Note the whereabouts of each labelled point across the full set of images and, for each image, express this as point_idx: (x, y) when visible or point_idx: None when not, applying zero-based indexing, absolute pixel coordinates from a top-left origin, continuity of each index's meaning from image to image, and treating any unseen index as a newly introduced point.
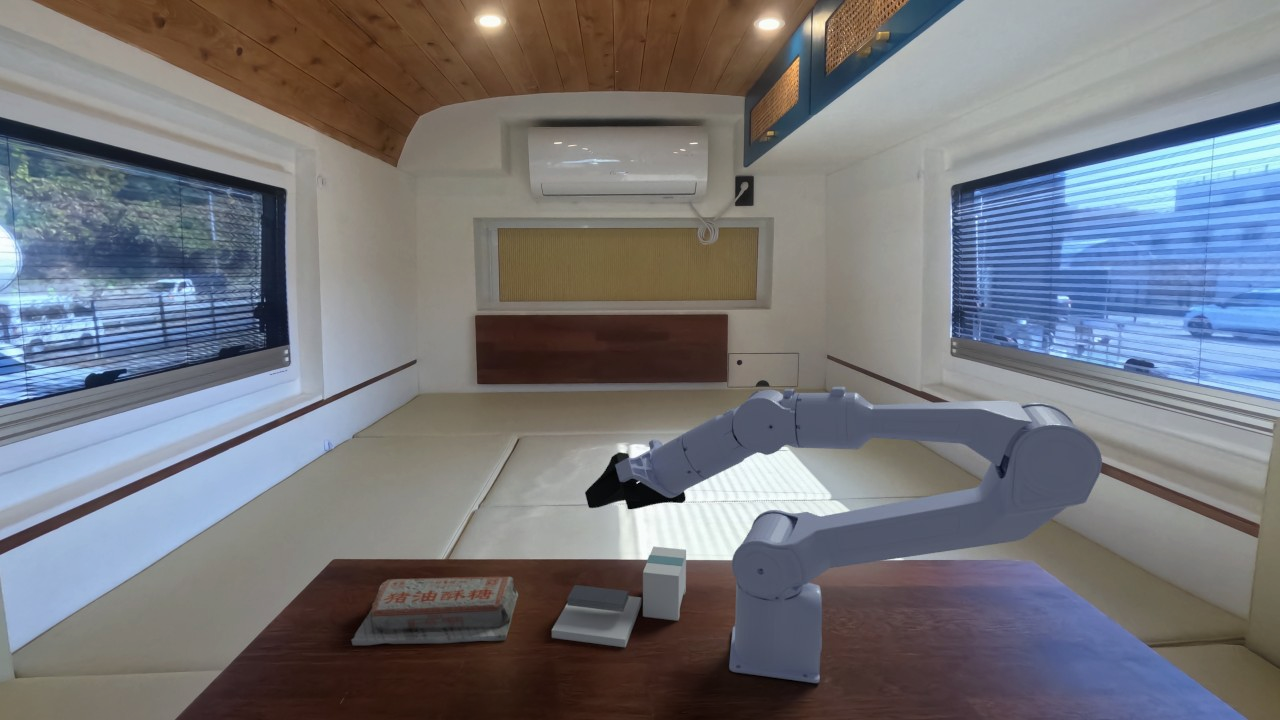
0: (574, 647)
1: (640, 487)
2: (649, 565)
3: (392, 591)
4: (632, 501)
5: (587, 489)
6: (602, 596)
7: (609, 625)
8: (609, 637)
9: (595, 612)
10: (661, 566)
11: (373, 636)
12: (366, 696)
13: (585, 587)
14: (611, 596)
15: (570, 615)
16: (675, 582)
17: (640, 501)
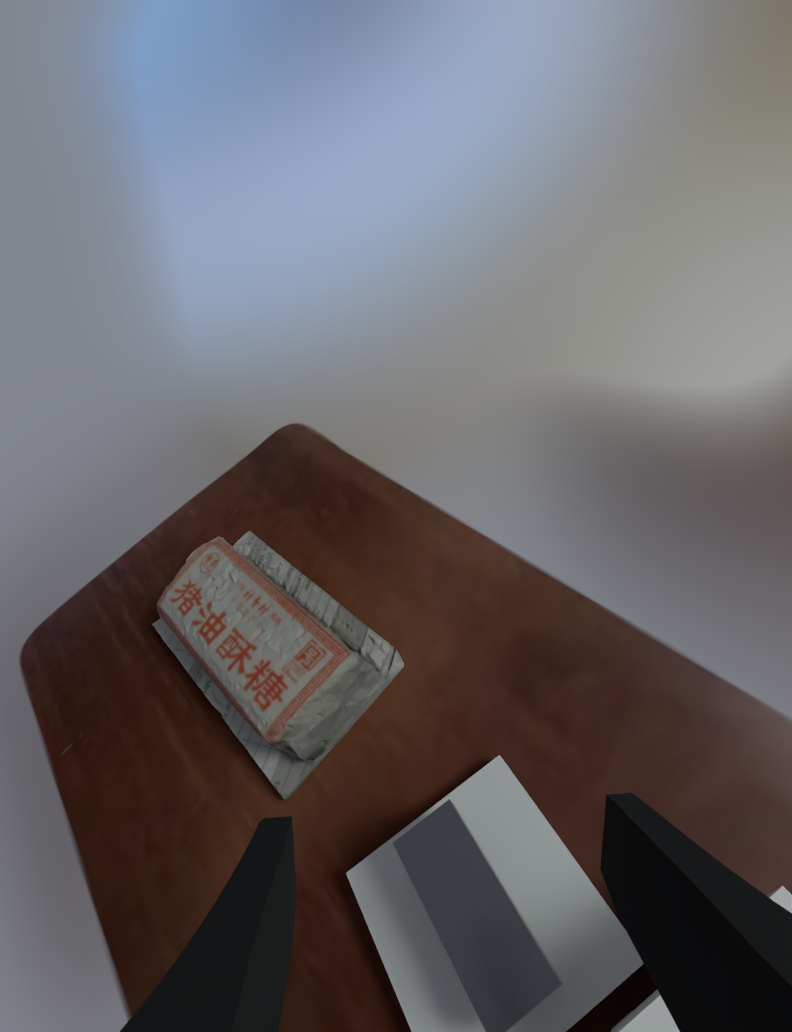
0: (363, 967)
1: (683, 911)
2: (669, 1017)
3: (193, 576)
4: (624, 883)
5: (259, 828)
6: (470, 929)
7: (464, 1003)
8: None
9: None
10: None
11: (171, 634)
12: (82, 767)
13: (462, 836)
14: (492, 957)
15: None
16: None
17: (655, 952)
